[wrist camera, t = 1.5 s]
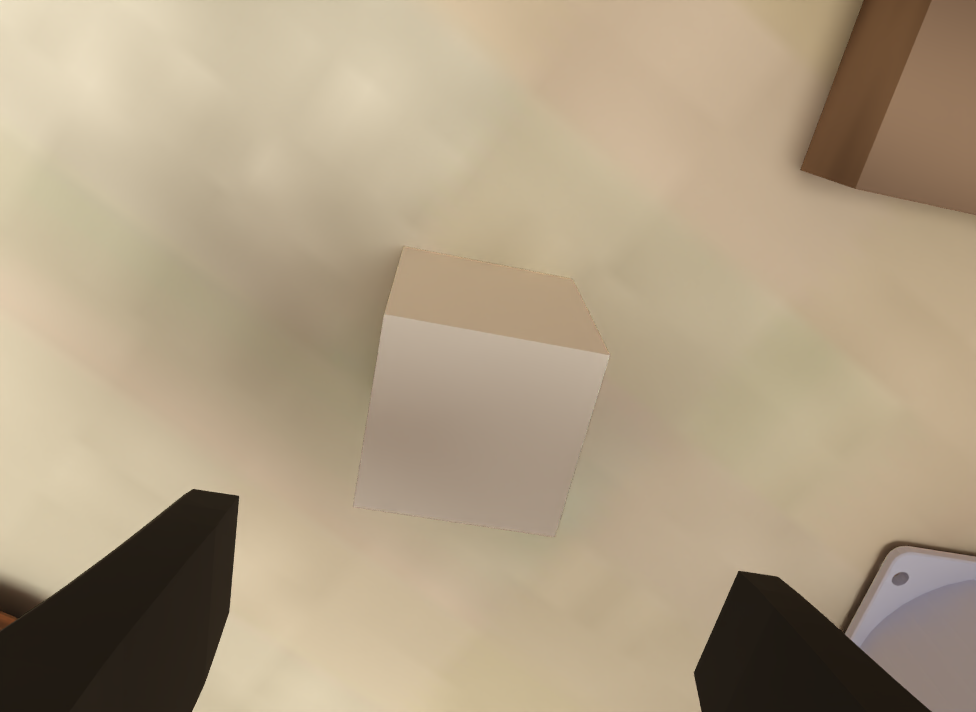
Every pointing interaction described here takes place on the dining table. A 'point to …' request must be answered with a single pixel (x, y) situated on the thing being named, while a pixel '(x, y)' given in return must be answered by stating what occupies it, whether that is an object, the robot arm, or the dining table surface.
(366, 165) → the dining table surface
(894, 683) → the robot arm
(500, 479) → the white block
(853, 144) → the walnut block
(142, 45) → the dining table surface
